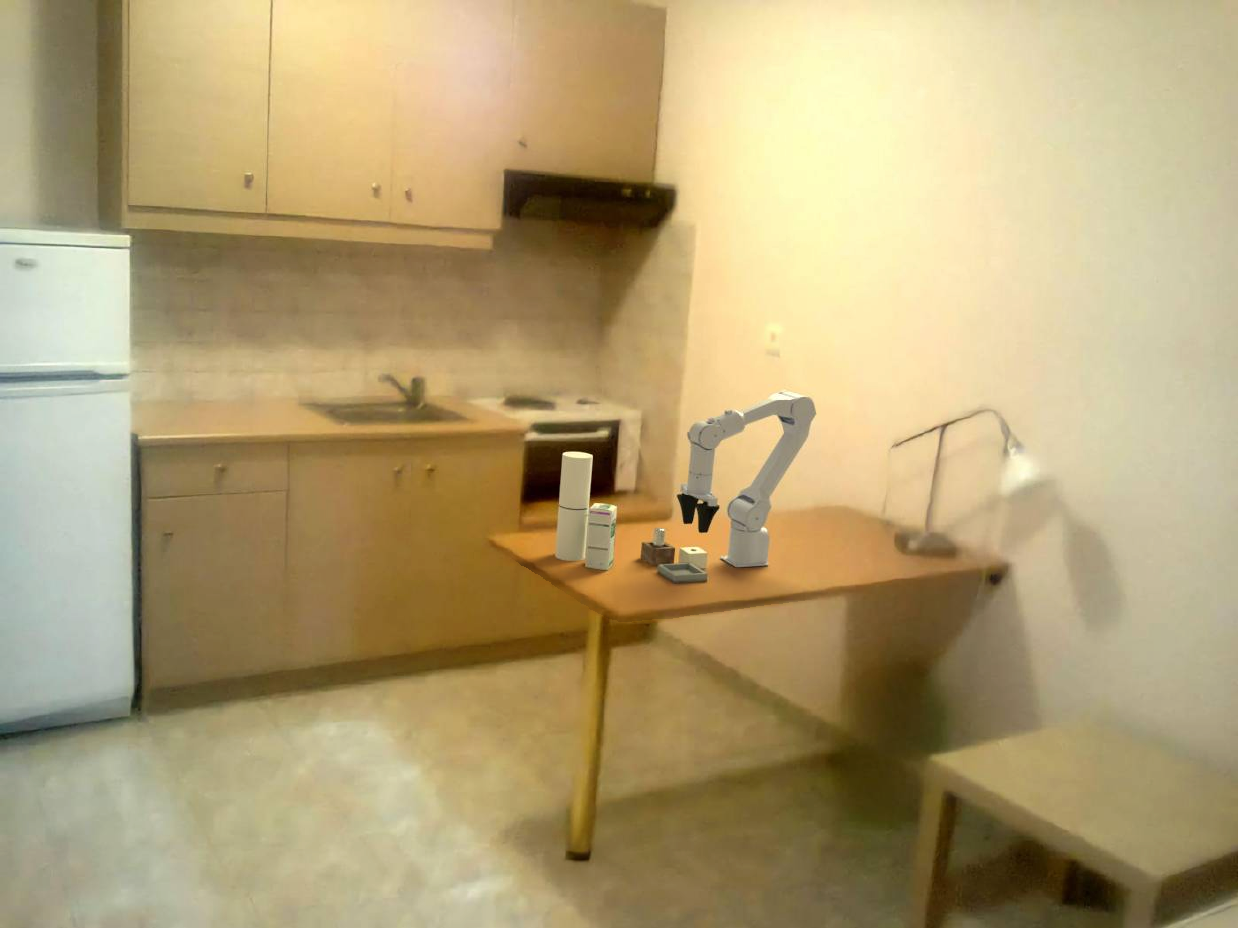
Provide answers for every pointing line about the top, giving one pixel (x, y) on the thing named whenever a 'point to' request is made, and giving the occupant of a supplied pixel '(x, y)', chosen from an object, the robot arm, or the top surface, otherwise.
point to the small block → (693, 556)
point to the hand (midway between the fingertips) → (695, 527)
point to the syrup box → (600, 536)
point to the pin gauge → (659, 537)
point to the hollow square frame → (657, 553)
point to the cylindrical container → (573, 506)
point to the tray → (682, 572)
